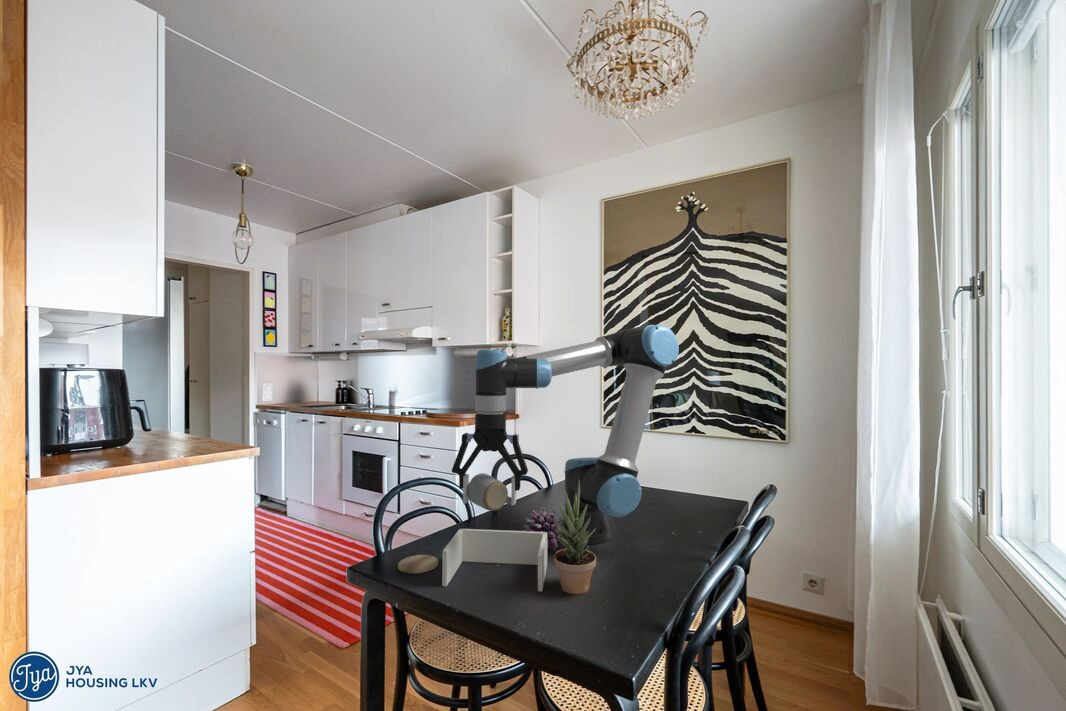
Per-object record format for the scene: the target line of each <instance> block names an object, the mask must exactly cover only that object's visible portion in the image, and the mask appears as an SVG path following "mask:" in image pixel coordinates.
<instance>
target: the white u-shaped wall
mask: <svg viewBox="0 0 1066 711" xmlns="http://www.w3.org/2000/svg"><path fill="white" fill-rule="evenodd" d="M463 562H464V563H465V562H469V563H487V564H488V563H489V564H491V563H493V564H506V565H507V564H511V565H526V566H527V565H530V566H532V565H533V566H537V592H543V588H544V585H545V584H544V583H545V578H546V573H547V568H548V549H547V532H529V531H522V530H501V529H500V530H499V529H480V528H479V529H476V528H475V529H473V528H459V529H458V530H457V532H456V533H455V535H454V536H453V537H452V538H451V540H449V542H447V544H446V546H445V547H444V548H443V550H442V573H441V574H442V575H441V576H442V577H441V578H442V583H441V585H442V587H447V586H448V585H449V583H450V582H451V580H452V578H453V577H454V575H455V574H456V573H457V570H458V569H459V567H460V566H461V565H462V563H463Z"/></svg>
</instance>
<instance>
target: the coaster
mask: <svg viewBox="0 0 1066 711" xmlns="http://www.w3.org/2000/svg"><path fill="white" fill-rule="evenodd" d="M438 566H439V558H437V557H436V556H433V555H429V554H416V555H411V556H407V557H405V558H403V559H401V560H400V561H399V562H398V563H397V570H398V571H400V572H402V573H403V574H410V575H413V574H423V573H429V572H430V571H433V570H435V569H437V567H438Z"/></svg>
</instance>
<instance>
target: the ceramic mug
mask: <svg viewBox="0 0 1066 711" xmlns="http://www.w3.org/2000/svg"><path fill="white" fill-rule="evenodd" d="M467 493H468V497H469V501H471V503H472V504H475V505H477V506H478V507H481V508H482V509H484V510H487V511H491V512H493V511H498V510H500V509H501V508H503V507H504V506H505V505H510V506H512V505H511V496H508V495H509V491H508V487H507V486H506V485H505V484H504V483H503V482H502V481H501V480H500V479H497V478H496V477H493V476H492V475H490V474H487V473H485V472H482V473H477V474H475V475H474V476H473V477H472V478H471V479H470V480H469V485H468V490H467Z"/></svg>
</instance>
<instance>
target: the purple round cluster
mask: <svg viewBox="0 0 1066 711" xmlns="http://www.w3.org/2000/svg"><path fill="white" fill-rule="evenodd" d="M555 513H556V510H555V509H552V511H550V512H548V513H547V512H546V508H545V507H541V508H540V511H539V513H538V512H536V511H535V510H531V513H530V514H529V516H530V518H527V517H525V519H524V521H526V523H527V525H524V526H523V528H524V529H522V530H521V531H529V532H547V550H548V548H551V550H553V551H554V552H556V549H557V548H558V547H559V545H558V543H557V542H560V541H559V540H558V539H557V537H558V538H559V539H560V540H562V539H561V536H560V534H559V532H558V530H557V528H556V526H555V523H556V525H557V527H558V528H559V530H560V531H561V533H563V532H562V530H561V529H560V527H559V526H558V524H557V522H556V520H555V518H556V519H557V520H558V522H559V523H561V521H562V520H563V519H562V517H561V516H559V517H555ZM554 522H555V523H554Z"/></svg>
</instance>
